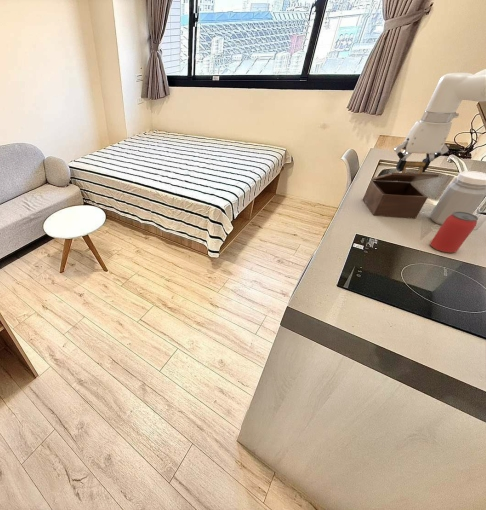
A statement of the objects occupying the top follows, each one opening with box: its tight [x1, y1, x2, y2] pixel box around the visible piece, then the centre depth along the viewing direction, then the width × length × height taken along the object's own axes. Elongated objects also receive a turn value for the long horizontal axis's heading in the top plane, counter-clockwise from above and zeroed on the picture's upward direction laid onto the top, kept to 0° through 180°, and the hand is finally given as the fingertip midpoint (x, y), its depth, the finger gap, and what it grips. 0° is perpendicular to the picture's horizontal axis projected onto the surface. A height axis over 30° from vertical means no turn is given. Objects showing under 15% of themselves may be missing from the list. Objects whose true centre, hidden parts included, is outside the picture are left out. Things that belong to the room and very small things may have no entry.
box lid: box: [370, 160, 440, 183], centre depth 106 cm, size 16×14×5 cm
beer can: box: [430, 212, 479, 254], centre depth 87 cm, size 7×7×12 cm
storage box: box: [362, 180, 429, 219], centre depth 111 cm, size 15×14×9 cm
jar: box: [430, 170, 486, 226], centre depth 98 cm, size 10×10×18 cm
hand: (409, 170), depth 102 cm, fingers closed on box lid, 6 cm apart
